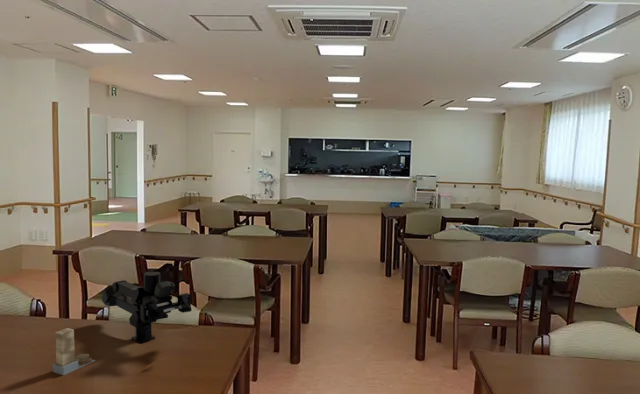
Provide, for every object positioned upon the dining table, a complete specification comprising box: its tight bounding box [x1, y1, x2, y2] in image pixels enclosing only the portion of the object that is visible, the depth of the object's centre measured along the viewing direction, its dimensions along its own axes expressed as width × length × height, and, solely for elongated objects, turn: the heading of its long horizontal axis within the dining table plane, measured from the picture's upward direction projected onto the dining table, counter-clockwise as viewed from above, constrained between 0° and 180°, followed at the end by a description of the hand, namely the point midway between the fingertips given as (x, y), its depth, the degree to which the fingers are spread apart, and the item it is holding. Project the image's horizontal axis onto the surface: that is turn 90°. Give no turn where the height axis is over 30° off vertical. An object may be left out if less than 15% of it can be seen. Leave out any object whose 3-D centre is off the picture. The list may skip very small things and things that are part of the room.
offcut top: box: [75, 353, 90, 361], centre depth 159 cm, size 3×3×1 cm
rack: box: [52, 358, 97, 376], centre depth 157 cm, size 12×5×4 cm, turn 155°
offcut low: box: [75, 356, 93, 367], centre depth 159 cm, size 4×4×1 cm
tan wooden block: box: [54, 327, 76, 367], centre depth 153 cm, size 4×3×13 cm
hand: (179, 313), depth 165 cm, fingers open, 9 cm apart
